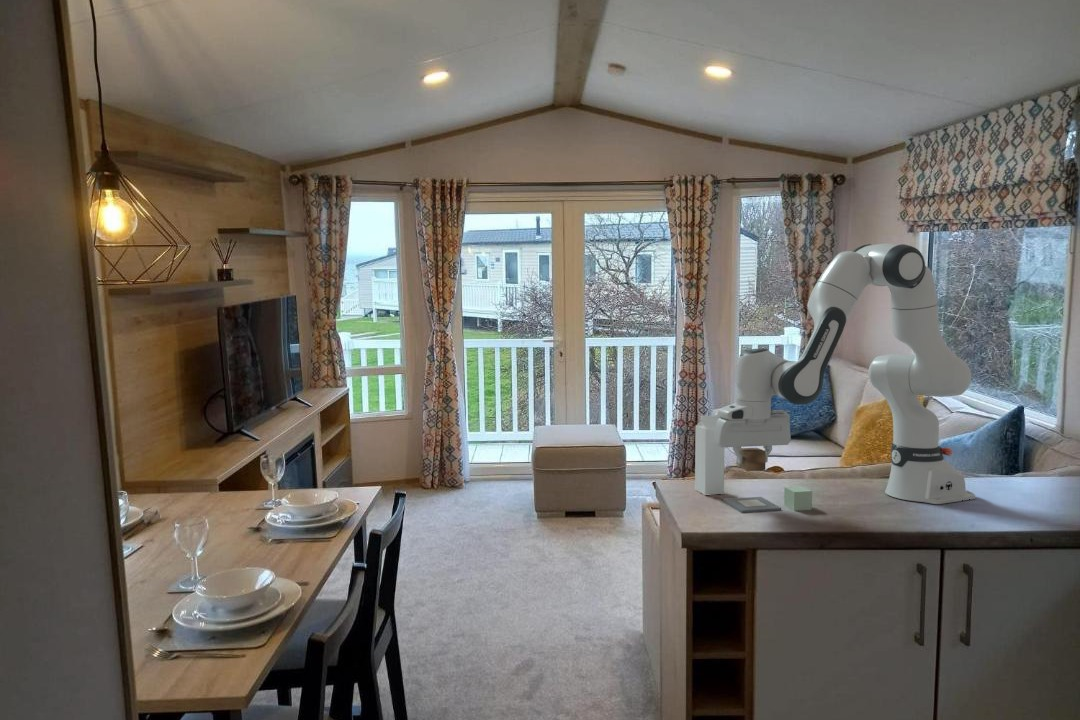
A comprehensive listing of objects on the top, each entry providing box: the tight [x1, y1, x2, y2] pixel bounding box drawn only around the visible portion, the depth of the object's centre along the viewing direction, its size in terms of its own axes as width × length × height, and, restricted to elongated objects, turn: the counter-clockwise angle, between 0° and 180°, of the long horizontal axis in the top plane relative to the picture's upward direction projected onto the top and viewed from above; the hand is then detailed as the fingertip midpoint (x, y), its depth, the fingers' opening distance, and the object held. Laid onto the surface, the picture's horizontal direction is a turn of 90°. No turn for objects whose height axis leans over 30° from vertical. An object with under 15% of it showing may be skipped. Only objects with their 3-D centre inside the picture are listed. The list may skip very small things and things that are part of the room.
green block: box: [783, 485, 813, 512], centre depth 189 cm, size 5×5×5 cm
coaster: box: [722, 496, 782, 514], centre depth 191 cm, size 11×11×1 cm
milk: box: [694, 414, 726, 495], centre depth 204 cm, size 6×6×22 cm
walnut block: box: [738, 447, 767, 472], centre depth 190 cm, size 5×5×5 cm
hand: (752, 462), depth 190 cm, fingers closed on walnut block, 5 cm apart
